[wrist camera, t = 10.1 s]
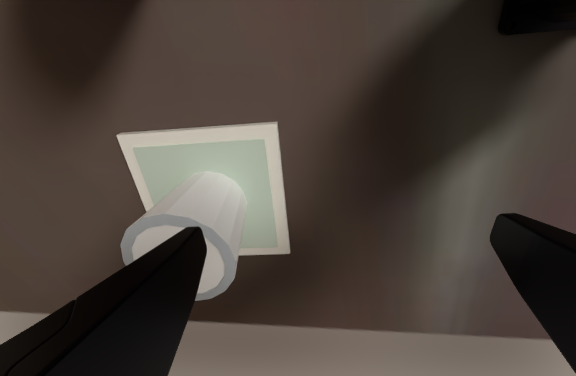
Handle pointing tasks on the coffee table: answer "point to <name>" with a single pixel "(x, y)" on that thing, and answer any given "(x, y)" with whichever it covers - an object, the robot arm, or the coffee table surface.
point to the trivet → (221, 159)
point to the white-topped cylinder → (196, 212)
